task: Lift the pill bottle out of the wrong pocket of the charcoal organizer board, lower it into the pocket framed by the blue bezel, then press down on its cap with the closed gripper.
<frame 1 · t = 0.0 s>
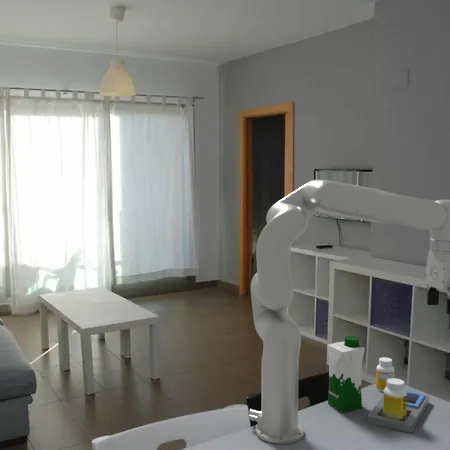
hand: (442, 309, 150), 31 cm above the table, tool pointing down, fingers open, 9 cm apart
milk carton: (344, 406, 163), on the table
supplement bottle: (384, 390, 175), on the table
pill bottle: (394, 420, 153), resting in organizer board
organizer board: (399, 412, 158), on the table
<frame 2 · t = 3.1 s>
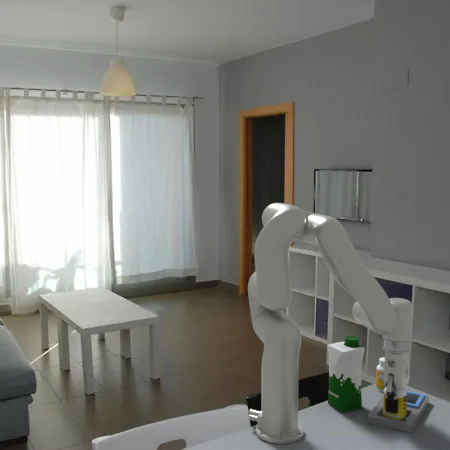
hand: (394, 407, 153), 4 cm above the table, tool pointing down, fingers closed on pill bottle, 6 cm apart
pill bottle: (394, 420, 153), resting in organizer board, touching gripper
everything else where it was.
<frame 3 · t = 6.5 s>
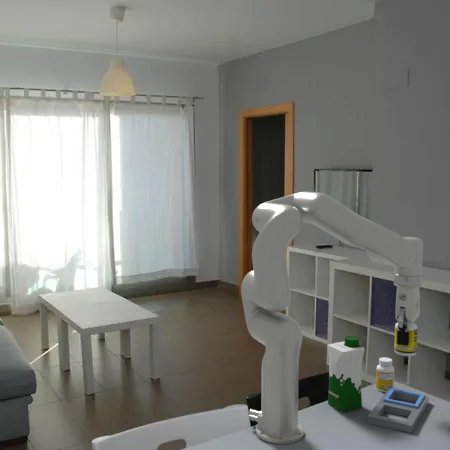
hand: (405, 340, 161), 19 cm above the table, tool pointing down, fingers closed on pill bottle, 6 cm apart
pill bottle: (405, 353, 161), point 16 cm above the table, touching gripper
everything else where it was.
when the fingers open (4 cm above the table, at t = 9.7 s): pill bottle stays where it is, resting in organizer board.
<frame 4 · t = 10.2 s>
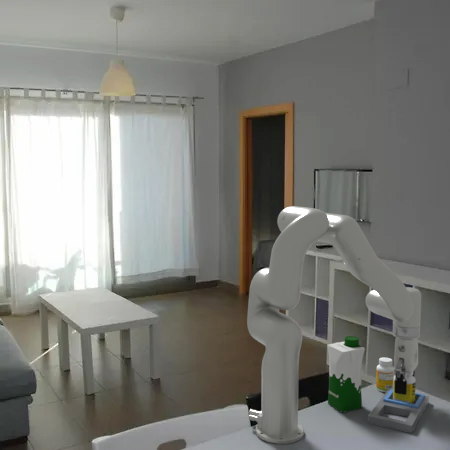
hand: (404, 387, 162), 5 cm above the table, tool pointing down, fingers open, 9 cm apart
pill bottle: (403, 406, 163), resting in organizer board
everything else where it was.
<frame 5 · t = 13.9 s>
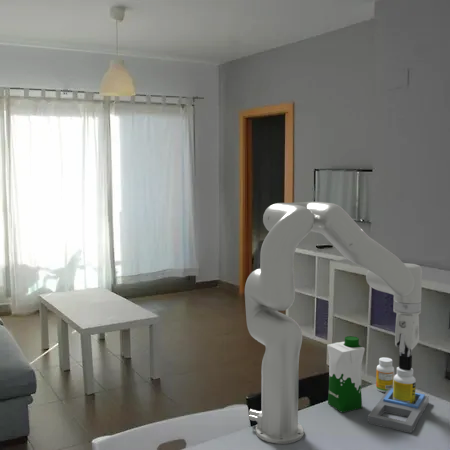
hand: (405, 368, 162), 11 cm above the table, tool pointing down, fingers closed
pill bottle: (403, 406, 163), resting in organizer board, touching gripper
everything else where it was.
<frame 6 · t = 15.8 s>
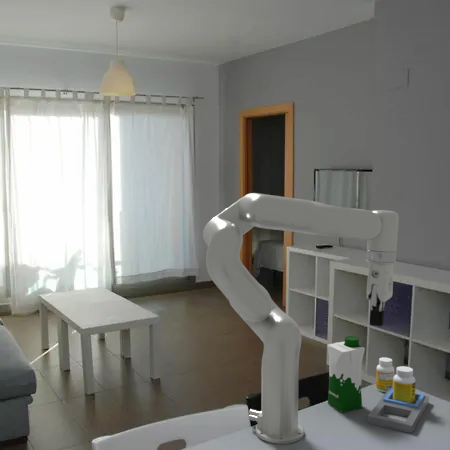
hand: (376, 324, 149), 27 cm above the table, tool pointing down, fingers closed
pill bottle: (403, 406, 163), resting in organizer board
everything else where it was.
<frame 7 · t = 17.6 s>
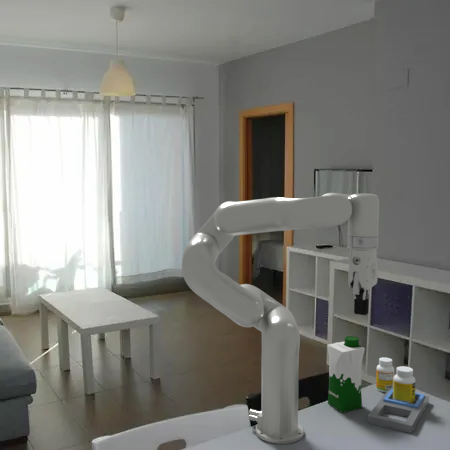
hand: (361, 313, 142), 32 cm above the table, tool pointing down, fingers closed
nothing on the table moved.
at the end: pill bottle 0.1 cm from the target spot on the organizer board, point 0.0 cm above the organizer board's base; pill bottle tilted 0°; the gripper is holding nothing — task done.
